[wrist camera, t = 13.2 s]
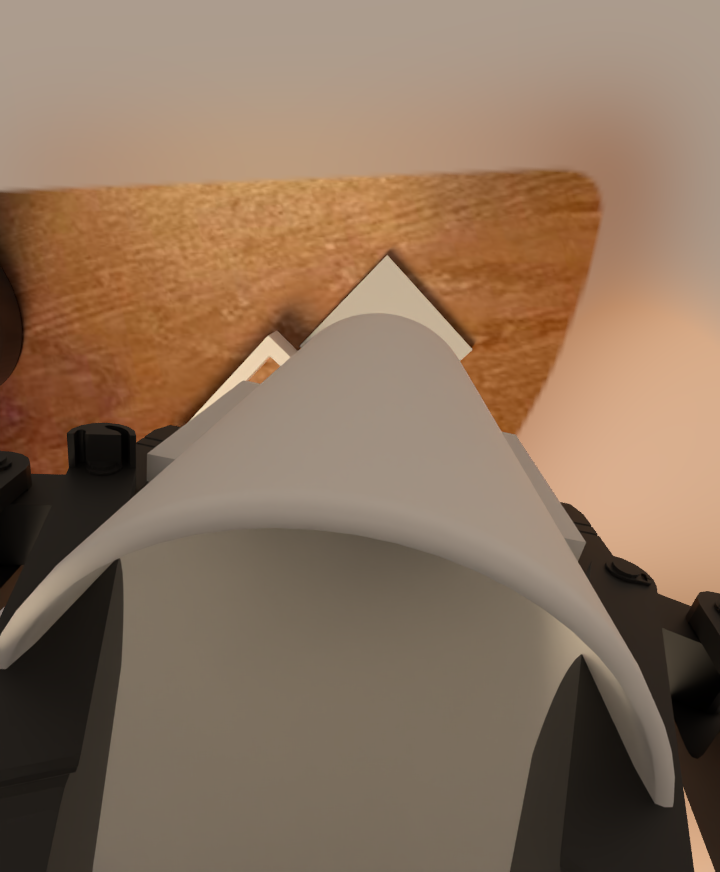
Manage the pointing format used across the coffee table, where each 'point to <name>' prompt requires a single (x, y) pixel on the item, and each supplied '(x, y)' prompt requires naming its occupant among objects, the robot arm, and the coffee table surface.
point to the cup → (341, 628)
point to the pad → (394, 304)
